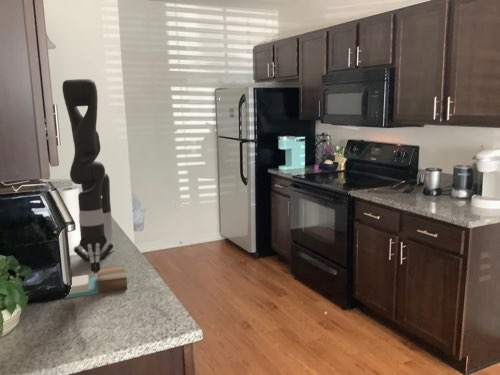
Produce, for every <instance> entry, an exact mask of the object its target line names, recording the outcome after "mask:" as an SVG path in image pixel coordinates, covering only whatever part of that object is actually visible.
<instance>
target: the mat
mask: <svg viewBox="0 0 500 375" xmlns="http://www.w3.org/2000/svg"><path fill="white" fill-rule="evenodd" d="M88 278H89V277H88ZM96 294H100V293H99V291H98V276H96V277H91V278H89V291H87V292H80V293H73V294H68V295H67V296H66V297H65V296H64V299H70V298H76V297H83V296H90V295H96Z"/></svg>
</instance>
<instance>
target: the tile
mask: <svg viewBox="0 0 500 375" xmlns="http://www.w3.org/2000/svg"><path fill="white" fill-rule="evenodd" d="M71 277H72V285H71V289H70V292H69V294H73V293H80V292H87V291H89V274H84V275H77V276H71Z"/></svg>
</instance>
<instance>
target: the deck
mask: <svg viewBox="0 0 500 375" xmlns="http://www.w3.org/2000/svg"><path fill="white" fill-rule="evenodd" d="M96 274H97V277H98V291H99V293H98V294H100V293H107V292H114V291H121V290H128V279H127V274H126V268H125V264H119V265H112V266H111V265H110V266H104V267H100V271H98V273H96Z"/></svg>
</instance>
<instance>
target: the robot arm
mask: <svg viewBox="0 0 500 375" xmlns="http://www.w3.org/2000/svg"><path fill="white" fill-rule="evenodd" d="M62 96H63V99H64V104H65V107H66V111H67V114H68V118H69V122H70V128H71V133H72V141H73V144H74V155H73V156H74V157H73V159H72V163H71V167H70V171H69V177H70V181H71V182H72V183H74V184H76V185H81V186H80V187H81V190H82V191H81V192H79V193H78V197H77V200H78V209H79V210H78V212H79V213H78V214H79V215H78V216H79V217H78V223H79V230H80V240H79V244H78V245H77V246H74V248H73V252H74V253H75V254H76V255H78V256H79V258H81V259H82V261H84V262H85V263H89V264H90V270H91V272H92V273H93V274H97V273H98V271H100V268H101V261H104V260H105V259H106V257H107V256H108V255H109V254H110V253H112V252H114V250H115V246H114V233H113V231H112V230H113V220H112V218H111V217H112V207H111V192H110V191H111V188H110V185H111V182H110V176H109V175H108V173H106V168H105V166H104V164H103V163H102V162H100V161H96V159H97V157H98V156H99V154H100V152H101V142H100V136H99V133H98V131H97V119H98V101H99V100H98V90H97V85H96V82H95V81H94V80H93V79H91V78H89V79H88V78H86V79H85V78H83V79H81V78H79V79H66V80H64V81H63V82H62ZM79 107H87V110H86V111H85V114H84V116H83V115H82V114H81V112H80V110H79V109H78V108H79ZM83 249H84V251H85V252H87V253H88V255H86V253H85V252H84V251H82V250H83ZM94 255H95V256H94Z"/></svg>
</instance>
